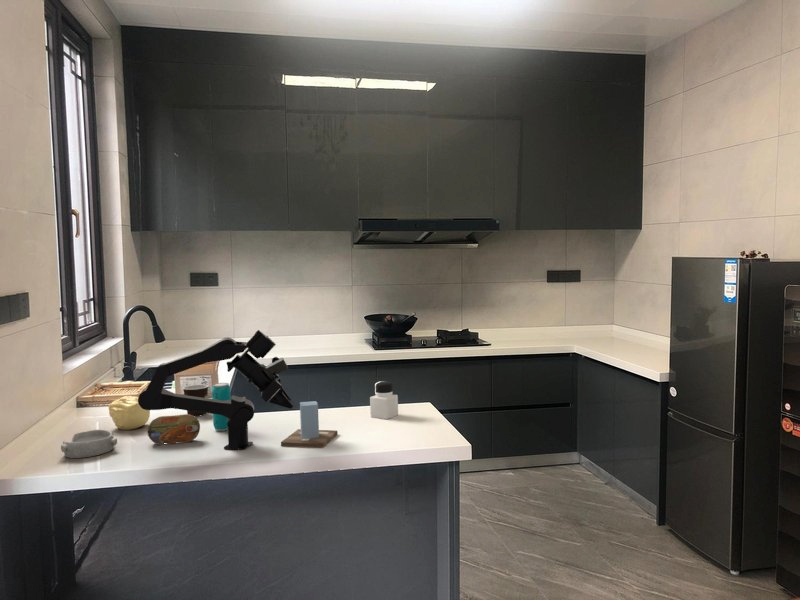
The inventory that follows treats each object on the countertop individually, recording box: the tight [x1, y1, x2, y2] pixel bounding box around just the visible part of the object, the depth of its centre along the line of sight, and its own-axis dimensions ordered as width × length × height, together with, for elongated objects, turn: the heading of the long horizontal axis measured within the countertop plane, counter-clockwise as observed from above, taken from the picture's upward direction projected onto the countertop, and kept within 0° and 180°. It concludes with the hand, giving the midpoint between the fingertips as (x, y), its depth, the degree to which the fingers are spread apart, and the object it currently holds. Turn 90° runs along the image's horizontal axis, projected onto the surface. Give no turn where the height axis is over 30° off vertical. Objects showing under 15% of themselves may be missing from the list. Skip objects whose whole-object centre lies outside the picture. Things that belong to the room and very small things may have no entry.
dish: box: [60, 429, 118, 459], centre depth 181 cm, size 14×14×5 cm
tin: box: [147, 413, 201, 445], centre depth 188 cm, size 15×3×8 cm, turn 101°
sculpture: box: [108, 395, 151, 431], centre depth 207 cm, size 12×12×11 cm
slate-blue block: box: [299, 400, 320, 439], centre depth 187 cm, size 5×5×10 cm
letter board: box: [280, 428, 338, 449], centre depth 187 cm, size 14×13×1 cm
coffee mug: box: [182, 384, 209, 417], centre depth 222 cm, size 12×9×10 cm
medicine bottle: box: [369, 380, 399, 420], centre depth 214 cm, size 7×7×12 cm
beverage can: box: [211, 382, 232, 432], centre depth 201 cm, size 6×6×15 cm
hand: (291, 404), depth 185 cm, fingers open, 9 cm apart
